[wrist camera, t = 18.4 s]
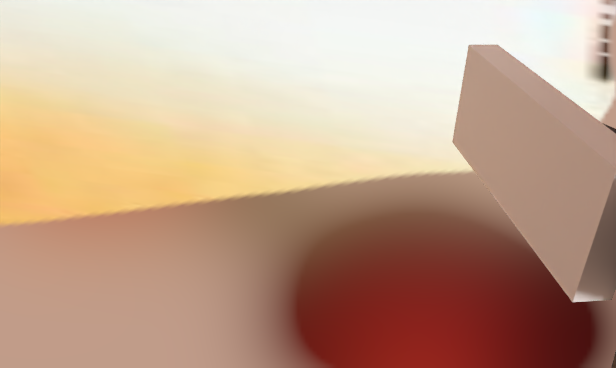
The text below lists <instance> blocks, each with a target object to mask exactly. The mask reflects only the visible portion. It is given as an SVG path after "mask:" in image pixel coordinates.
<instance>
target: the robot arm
mask: <svg viewBox="0 0 616 368" xmlns="http://www.w3.org/2000/svg"><path fill="white" fill-rule="evenodd" d="M453 143H454V145H455V146H456V147H457V149H458V150H459V151H460V153H461V154H462V155H463V157H464V158H465V159H466V161H467V162H468V163H469V165H470V166H471V167H472V169H473V170H474V171H475V173H476V174H477V175H478V177H479V178H480V179H481V181H482V182H483V183H484V185H485V186H486V187H487V189H488V190H489V191H490V193H491V194H492V195H493V197H494V198H495V199H496V201H497V202H498V203H499V205H500V206H501V207H502V209H503V210H504V211H505V212H506V214H507V215H508V217H509V218H510V219H511V221H512V222H513V223H514V225H515V226H516V227H517V229H518V230H519V231H520V233H521V234H522V235H523V236H524V238H525V239H526V241H527V242H528V243H529V245H530V246H531V247H532V249H533V250H534V251H535V253H536V254H537V255H538V257H539V258H540V259H541V261H542V262H543V263H544V265H545V266H546V267H547V269H548V270H549V271H550V273H551V274H552V275H553V277H554V278H555V279H556V281H557V282H558V283H559V285H560V286H561V287H562V289H563V290H564V291H565V293H566V294H567V295H568V297H569V298H570V299H571V301H572V302H583V301H599V300H612V298H613V295H614V292H615V290H616V129H614V128H612V127H610V126H607V125H605V124H603V123H601V122H600V121H598V120H597V119H596V118H594V117H593V116H592V115H590V114H589V113H588V112H586V111H585V110H584V109H582V108H581V107H580V106H578V105H577V104H576V103H574V102H573V101H572V100H570V99H569V98H568V97H566V96H565V95H564V94H562V93H561V92H560V91H558V90H557V89H556V88H554V87H553V86H552V85H550V84H549V83H548V82H546V81H545V80H544V79H542V78H541V77H540V76H538V75H537V74H536V73H534V72H533V71H532V70H530V69H529V68H528V67H526V66H525V65H524V64H522V63H521V62H520V61H518V60H517V59H516V58H514V57H513V56H512V55H510V54H509V53H508V52H506V51H505V50H504V49H502V48H501V47H500V46H498V45H469V47H468V53H467V59H466V65H465V71H464V77H463V83H462V89H461V94H460V100H459V106H458V112H457V118H456V124H455V130H454V136H453ZM612 368H616V352H615V356H614V360H613V363H612Z"/></svg>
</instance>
